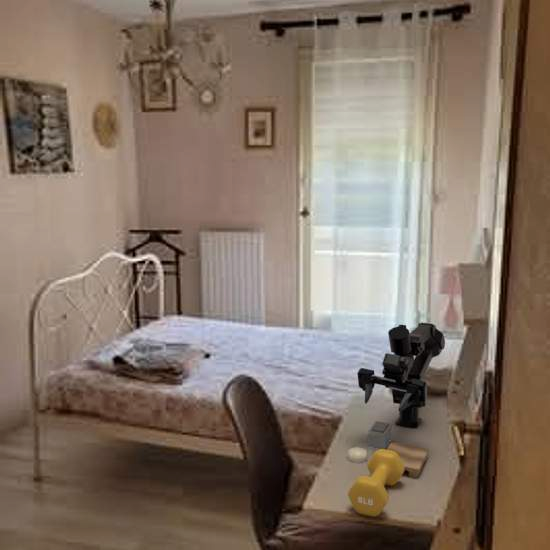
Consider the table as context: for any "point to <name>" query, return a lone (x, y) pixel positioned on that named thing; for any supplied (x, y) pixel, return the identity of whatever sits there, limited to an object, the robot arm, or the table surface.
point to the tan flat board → (410, 457)
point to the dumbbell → (376, 483)
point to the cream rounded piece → (357, 454)
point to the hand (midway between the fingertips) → (382, 406)
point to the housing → (380, 435)
